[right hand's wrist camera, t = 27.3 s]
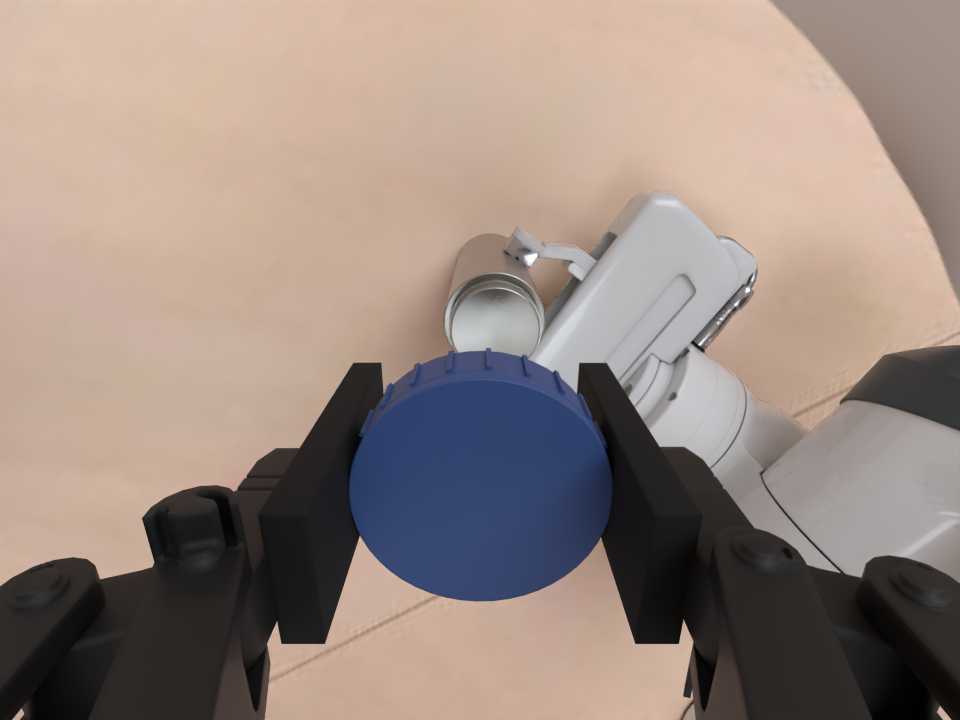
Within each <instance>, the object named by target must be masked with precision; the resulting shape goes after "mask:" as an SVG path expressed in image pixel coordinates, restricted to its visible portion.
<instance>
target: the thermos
mask: <svg viewBox="0 0 960 720" xmlns="http://www.w3.org/2000/svg"><path fill="white" fill-rule="evenodd" d="M507 240H508V239H507V238H506V237H503V236H501V235H497V234H484V235H480V236H477V237H475V238H473V239H472V240H470V241H469V242H468V243H467V244H466V245H465V246H464V247H463V248H462V250H461V251H460V253H459V256H458V259H457V263H456V267H455V271H454V275H453V279H452V283H451V287H450V291H449V295H448V299H447V303H446V307H445V311H444V320H443V323H444V331H445V335H446V338H447V340H448V342H449V344H450V346H451V347H452V349H453V350H454V352H455V353H460V352H467V351H486V348H491V351H494V352H503V353H507V354H512V355H517V356H520V357H522V355H523V354H524V355H527V357H528V359H529V358H530V357H531V356H532V355H533V354H534V353H535V351H536V349H537V347H538V345H539V343H540V342H541V339H542V337H543V334H544V330H545V324H546V317H545V310H544V306H543V303H542V301H541V299H540V296H539V294H538V292H537V290H536V287H535V285H534V283H533V280H532V278H531V276H530V273H529V271H528V269H527V267H526V266H525V265H524V264H522V263H521V262H520V261H519V259H518V257H513V256H511V255H510V254H508V253H507V252H506V251H505V250H504V248H503V246H504V245H505V243H506V242H507Z"/></svg>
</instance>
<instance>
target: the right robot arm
mask: <svg viewBox="0 0 960 720" xmlns="http://www.w3.org/2000/svg"><path fill="white" fill-rule="evenodd" d="M579 393H581V394H582V395H583V397H584V400H585V402H586V404H587V406H588V409H589V411H590V413H591V416H592V418H591V419H592V421H593V422H594V421H597V423H598V426H599V428H600V430H601V432H602V434H603V437H604V439H605V441H606V443H607V446H608V448H607V449H605V451H606V454H607V456H608V458H609V462H610V466H611V470H612V474H613V490H612V499H611V508H610V516H609V520H608V522H607V525H606V527H605V530H604V532H603V534H602V536H601V538H602V542H603V545H604V548H605V551H606V554H607V557H608V560H609V563H610V566H611V569H612V573H613V576H614V579H615V582H616V585H617V588H618V591H619V594H620V597H621V601H622V604H623V607H624V610H625V613H626V616H627V619H628V622H629V625H630V628H631V632H632V635H633V638H634V641H635V644H679V640H680V634H681V629H682V624H683V619H684V621H685V623H686V625H687V628H688V630H689V632H690V634H691V637H692V639H693V641H694V642H693V647H692V652H691V657H690V662H689V667H688V672H687V677H686V682H685V688H684V695H683V696H684V697H688V698H690V697H691V692H692V690H693V700H694V709H695V719H696V720H943V719H942V718H941V717H940V716H939V714H938V713H937V711H938V709H939V706H941V707H942V709H943V710H944V711H945V712H946V713H947V715H948V716H949V717H950V718H951V720H960V583H959V582H957V581H956V580H955V579H953V578H952V577H951V576H949V575H947V574H945V573H943V572H941V571H939V570H937V569H935V568H933V567H932V566H930V565H927V564H925V563H922V562H918V561H916V560H912V559H909V558H904V557H897V556H890V555H886V556H878V557H873V558H872V559H871V560H870V561H868V562H867V563H866V565H865V568H864V571H863V574H862V577H857V576H852V575H847V574H843V573H838V572H834V571H829V570H825V569H820V568H816V567H813V566H809V565H807V564H806V562H805V560H804V559H803V557H802V556H801V554H800V553H799V552H798V550H797V549H795V548H794V547H793V546H792V545H790V544H789V543H788V542H786V541H785V540H784V539H782V538H780V537H778V536H776V535H774V534H772V533H769V532H767V531H764V530H760V529H756V528H754V527H753V525H752V524H751V523H750V521H749V520H748V519H747V517H746V516H745V515H744V513H743V512H742V511H741V509H740V508H739V507H738V505H737V504H736V503H735V501H734V500H733V499H732V497H731V496H730V495H729V493H728V492H727V491H726V489H723V485H722V484H721V483H720V481H719V480H718V479H717V477H714V473H713V472H712V471H711V469H710V468H709V467H708V465H707V464H706V463H705V461H704V460H703V459H702V458H700V457H699V456H697V455H696V454H694V453H693V452H691V451H690V450H688V449H687V448H685V447H660V446H659V445H658V443H657V442H656V440H655V439H654V437H653V435H652V434H651V432H650V431H649V429H648V427H647V426H646V424H645V423H644V421H643V420H642V418H641V416H640V415H639V413H638V412H637V410H636V408H635V407H634V405H633V404H632V402H631V401H630V399H629V397H628V396H627V394H626V393H625V391H624V389H623V388H622V386H621V385H620V383H619V381H618V380H617V378H616V377H615V375H614V374H613V372H612V370H611V369H610V367H609V366H608V364H607V363H579V371H578V385H577V395H578V394H579ZM383 396H384V394H383V381H382V367H381V363H353V365H352V366H351V368H350V369H349V371H348V373H347V374H346V376H345V377H344V379H343V380H342V382H341V384H340V385H339V387H338V388H337V390H336V392H335V393H334V395H333V396H332V398H331V399H330V401H329V403H328V404H327V406H326V407H325V409H324V411H323V412H322V414H321V415H320V417H319V418H318V420H317V422H316V423H315V425H314V426H313V428H312V430H311V431H310V433H309V434H308V436H307V438H306V439H305V441H304V442H303V444H302V445H301V447H300V448H276V449H275V450H273V451H272V452H270V453H269V454H267V455H266V456H264V457H263V458H261V459H260V460H258V461H257V462H256V464H255V465H254V467H253V468H252V469H251V471H250V472H249V473H248V475H247V478H245V479H244V480H243V481H242V483H241V484H240V485H239V487H238V491H235V492H233V491H232V490H231V489H230V488H226V487H221V486H217V485H215V486H199V487H195V488H191V489H186V490H182V491H180V492H178V493H175V494H173V495H171V496H168V497H166V498H164V499H163V500H161V501H160V502H158V503H157V504H155V505H154V506H152V507H151V508H150V509H149V510H148V512H147V513H146V514H145V515H144V517H143V518H142V520H143V523H144V527H145V530H146V534H147V537H148V541H149V544H150V548H151V551H152V555H153V558H154V565H153V567H152V568H148V569H145V570H141V571H137V572H132V573H128V574H123V575H118V576H114V577H109V578H105V579H100V578H99V575H98V572H97V569H96V566H95V565H94V564H93V563H91V562H90V561H89V560H88V559H81V558H74V557H72V558H65V559H58V560H53V561H50V562H46V563H44V564H40V565H37V566H34V567H32V568H30V569H28V570H26V571H24V572H22V573H21V574H19V575H17V576H15V577H13V578H11V579H10V580H8V581H7V582H6V583H4V584H3V585H2V586H0V720H12V719H13V718H14V717H15V715H16V714H17V713H18V712H19V710H20V709H21V708H22V710H23V712H24V715H23V717H22V718H21V719H20V720H265V711H266V701H267V692H268V682H269V673H270V659H269V652H268V647H267V642H268V640H269V638H270V636H271V633H272V631H273V629H274V627H275V624H276V622H278V627H279V633H280V638H281V643H282V644H325V642H326V639H327V636H328V633H329V629H330V626H331V623H332V620H333V617H334V614H335V611H336V608H337V605H338V602H339V598H340V595H341V592H342V589H343V586H344V583H345V580H346V577H347V574H348V570H349V567H350V564H351V561H352V558H353V555H354V552H355V549H356V546H357V543H358V539H359V536H360V534H359V532H358V530H357V527H356V525H355V522H354V519H353V516H352V513H351V509H350V501H349V476H350V470H351V463H352V461H353V459H354V456H355V453H356V451H357V448H358V446H359V444H360V441H361V439H362V437H361V436H359V434H360V432H361V429H362V427H363V425H364V423H365V420H366V418H367V416H368V414H369V412H370V410H371V409H372V410H375V408H376V406H377V404H378V403H379V402H380V400H381V399H382V397H383Z"/></svg>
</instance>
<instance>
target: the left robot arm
mask: <svg viewBox="0 0 960 720" xmlns="http://www.w3.org/2000/svg"><path fill="white" fill-rule="evenodd" d="M503 248H504V250H505V251H506V252H507V253H508V254H510V255H511V256H513V257H518V259H519V261H520V262H521V263H522V264H524V265H525V266H526V267H528V268H530V266H531V265H532V264H533V262H534V261H535V260H536V259H537V257H539V258H549V259H559V260H563V261H562V264H563V266H564V267H565V268H566V269H567V270H568V271H569V272H570V273H571V274H573V276H572V277H571V278H570V279H569V281H568V282H567V283H566V285H565V286H564V287H563V289H562V290H561V291H560V292H559V294H558V295H557V296H556V298H555V299H554V300H553V302H552V303H551V304H550V305H549V307H548V308H547V309H546V311H545V317H546V324H545V330H544V334H543V337H542V339H541V342H540V343H539V345H538V347H537V349H536V351H535V353H534V354H533V355H532V356H531V357H530V358H529V359H528V360H531V361H534V362H536V363H538V364H540V365H541V366H543V367H545V368H547V369H549V370H550V371H552V372H554V371H555V370H556V371H558V372H559V374H560V377H561V379H563V380H564V381H565V382H566V383H567V384H568V385H569V386H570V387H571V388H572V389H573V390H574V391H575V393H576V394H577V385H578V371H579V363H607V364H608V366H609V367H610V369H611V370H612V372H613V374H614V375H615V377H616V378H617V380H618V381H619V383H620V385H621V386H622V388H623V389H624V391H625V393H626V394H627V396H628V397H629V399H630V401H631V402H632V404H633V405H634V407H635V408H636V410H637V412H638V413H639V415H640V416H641V418H642V420H643V421H644V423H645V424H646V426H647V427H648V429H649V431H650V432H651V434H652V435H653V437H654V439H655V440H656V442H657V443H658V445H659V446H660V447H685V448H687V449H688V450H690V451H691V452H693V453H694V454H696V455H697V456H699V457H700V458H702V459H703V460H704V461H705V463H706V464H707V465H708V467H709V468H710V469H711V471H712V472H713V473H714V477H717V479H718V480H719V481H720V483H721V484H722V485H723V489H726V491H727V492H728V493H729V495H730V496H731V497H732V499H733V500H734V501H735V503H736V504H737V505H738V507H739V508H740V509H741V511H742V512H743V513H744V515H745V516H746V517H747V519H748V520H749V521H750V523H751V524H752V525H753V527H754V528H756V529H760V530H764V531H767V532H769V533H772V534H774V535H776V536H778V537H780V538H782V539H784V540H785V541H786V542H788V543H789V544H790V545H792V546H793V547H794V548H795V549H797V550H798V552H799V553H800V554H801V556H802V557H803V559H804V560H805V562H806V564H807V565H809V566H813V567H816V568H820V569H825V570H829V571H834V572H838V573H843V574H847V575H852V576H857V577H862V574H863V571H864V568H865V565H866V563H867V562H868V561H870V560H871V559H872V558H873V557H878V556H886V555H890V556H897V557H904V558H909V559H912V560H916V561H918V562H922V563H925V564H927V565H930V566H932V567H933V568H935V569H937V570H939V571H941V572H943V573H945V574H947V575H949V576H951V577H952V578H953V579H955V580H956V581H957V582H959V583H960V345H952V346H939V347H929V348H922V349H915V350H908V351H903V352H897V353H892V354H887V355H884V356H883V357H882V358H881V359H880V360H879V361H878V362H877V363H876V364H875V365H874V366H873V367H872V368H871V369H870V370H869V371H868V373H867V374H866V375H865V376H864V377H863V378H862V379H861V380H860V381H859V382H858V383H857V384H856V385H855V386H854V387H853V388H852V389H851V390H850V391H849V392H848V394H847V395H846V396H845V397H844V398H843V399H842V400H841V401H840V406H838V407H837V408H836V409H835V410H834V411H833V412H832V413H830V414H829V415H828V416H827V417H826V418H825V419H824V420H822V421H821V422H820V423H819V424H818V425H817V426H816V427H814V428H813V429H812V430H811V431H809V430H808V429H807V428H806V427H804V426H803V425H802V424H801V423H799V422H798V421H797V420H796V419H794V418H793V417H792V416H790V415H789V414H787V413H786V412H785V411H783V410H782V409H780V408H778V407H776V406H774V405H772V404H769V403H766V402H762V401H760V400H758V399H757V398H755V397H754V396H753V395H752V393H751V391H750V390H749V389H748V387H747V386H746V385H745V383H744V382H743V381H742V380H741V379H740V378H738V377H737V376H736V375H735V374H733V373H732V372H730V371H729V370H728V369H726V368H725V367H724V366H722V365H721V364H720V363H718V362H717V361H716V360H714V359H713V358H712V357H710V356H709V355H707V354H706V353H705V351H704V350H705V349H706V348H707V347H708V346H709V345H710V344H711V343H712V341H713V340H714V339H715V338H716V337H717V336H718V335H719V334H720V333H721V331H722V330H723V329H724V327H725V326H726V325H727V323H728V322H729V321H730V319H731V318H732V317H733V315H735V314H736V312H737V311H738V310H741V309H742V308H743V307H744V306H745V305H746V304H747V303H748V302H749V300H750V299H751V297H752V296H753V294H754V291H753V290H752V289H751V288H752V287H753V285H754V283H755V281H756V278H757V262H756V260H755V258H754V257H753V255H752V254H751V253H750V252H749V251H747V250H746V249H745V248H744V247H742V246H741V245H740V244H739V243H738V242H736V241H735V240H734V239H732V238H729V237H726V236H716V235H715V234H714V233H713V232H712V231H711V230H710V229H709V227H708V226H707V225H706V224H705V223H704V222H703V221H702V220H701V219H700V218H699V217H698V216H697V215H696V214H695V213H694V212H693V211H692V210H691V209H690V208H689V207H688V206H687V205H685V204H684V203H683V202H682V201H681V200H680V199H679V198H677V197H676V196H674V195H673V194H671V193H668V192H665V191H659V190H655V191H646V192H640V193H637V194H636V195H634V196H633V198H632V199H631V200H630V202H629V203H628V204H627V205H626V207H625V208H624V209H623V211H622V212H621V213H620V215H619V216H618V217H617V218H616V220H615V221H614V222H613V224H612V225H611V226H610V227H609V229H608V230H607V231H606V233H605V234H604V235H603V237H602V238H601V239H600V240H599V242H598V243H597V244H596V246H595V247H594V248H593V250H592V251H591V252H590V253H589V254H588V253H586V252H585V251H584V250H582V249H581V248H579V247H578V246H577V245H575V244H569V243H557V242H545V241H543V242H542V243H541V242H539V241H538V240H537V239H535V238H534V237H533V236H531V235H530V234H528V233H527V232H526V231H524V230H523V229H521V228H520V227H518V226H517V228H516V229H515V230H514V232H513V233H512V235H511V236H510V238H509V239H508V240H507V242H506V243H505V245H504V246H503ZM747 279H748V281H747V283H746V285H745V284H743V283H744V282H745V281H746V280H747ZM443 335H444V336H445V337H446V335H445V331H444V334H443ZM683 720H696V719H695V709H694V704H693V705H692V706H691V707H690V708H689V709H688V711H687V712H686V714H685V716H684V718H683Z"/></svg>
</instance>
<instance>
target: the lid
mask: <svg viewBox="0 0 960 720" xmlns="http://www.w3.org/2000/svg"><path fill="white" fill-rule="evenodd" d="M591 418H592V416H591V413H590V411H589V409H588V406H587V404H586V402H585V400H584V397H583V395H582V394H581V393H579V394H578V395H577V394H576V393H575V391H574V390H573V389H572V388H571V387H570V386H569V385H568V384H567V383H566V382H565V381H564V380H563V379H561V377H560V374H559V372H558V371H556V370H555V371H554V372H552V371H550V370H549V369H547V368H545V367H543V366H541V365H540V364H538V363H536V362H534V361H531V360H528V357H527V355H524V354H523V355H522V357H520V356H517V355H512V354H507V353H503V352H494V351H491V348H486V351H467V352H460V353H454V351H449V354H448V355H446V356H443V357H439V358H436V359H434V360H431V361H429V362H427V363H424V364H422V365H420V363H417V364H415V366H414V369H413V370H412V371H410V372H408V373H407V374H406V375H405V376H403V377H402V378H401V379H399V380H398V381H397V382H396V383H395V384H394V385H393V384H391V383H390V384H389V385H388V386H387V389H386V391H385V393H384V396H383V397H382V399H381V400H380V402H379V403H378V404H377V406H376V408H375V410H372V409H371V410H370V412H369V414H368V416H367V418H366V420H365V423H364V425H363V427H362V429H361V432H360V434H359V436H361V437H362V439H361V441H360V444H359V446H358V448H357V451H356V453H355V456H354V459H353V461H352V463H351V470H350V476H349V501H350V509H351V513H352V516H353V519H354V522H355V525H356V527H357V530H358V532H359V534H360V536H361V538H362V539H363V541H364V543H365V544H366V546H367V547H368V549H369V550H370V551H371V552H372V554H373V555H374V556H375V557H376V558H377V559H378V560H379V562H381V563H382V564H383V565H384V566H385V567H386V568H387V569H388V570H390V571H391V572H392V573H394V574H395V575H396V576H398V577H399V578H401V579H402V580H404V581H406V582H408V583H409V584H411V585H413V586H415V587H417V588H419V589H422V590H424V591H427V592H429V593H432V594H436V595H439V596H443V597H446V598H452V599H458V600H466V601H496V600H504V599H510V598H515V597H519V596H523V595H526V594H529V593H532V592H535V591H538V590H540V589H542V588H545V587H547V586H549V585H551V584H553V583H555V582H556V581H558V580H559V579H561V578H563V577H564V576H566V575H567V574H568V573H570V572H571V571H572V570H573V569H575V568H576V567H577V566H578V565H579V564H580V563H581V562H582V561H583V560H584V559H585V558H586V557H587V556H588V555H589V554H590V552H591V551H592V550H593V548H594V547H595V546H596V544H597V543H598V541H599V539H600V538H601V536H602V534H603V532H604V530H605V527H606V525H607V522H608V520H609V516H610V508H611V499H612V490H613V474H612V470H611V466H610V462H609V458H608V456H607V454H606V451H605V449H607V448H608V446H607V443H606V441H605V439H604V437H603V434H602V432H601V430H600V428H599V426H598V423H597V421H594V422H593V421H592V419H591Z"/></svg>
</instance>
